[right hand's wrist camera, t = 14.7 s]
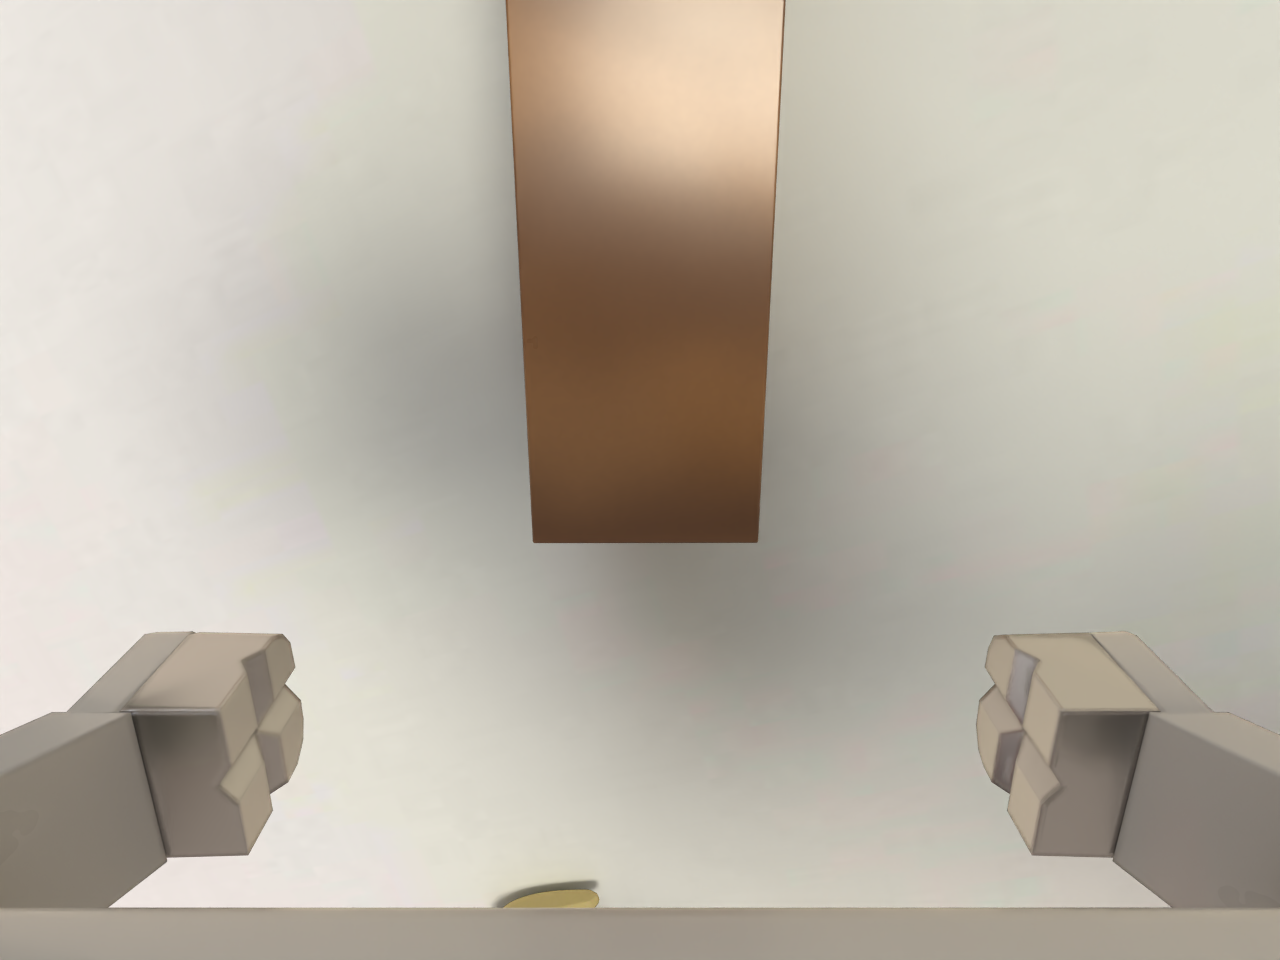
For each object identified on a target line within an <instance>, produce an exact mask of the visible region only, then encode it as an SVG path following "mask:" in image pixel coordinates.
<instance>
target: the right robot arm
mask: <svg viewBox="0 0 1280 960" xmlns="http://www.w3.org/2000/svg"><path fill="white" fill-rule="evenodd" d="M294 669H295V663H294V658H293V653H292V648H291V643H290V641H289V640H288V639H287V638H286V637H285V636H284V635H283V634H264V633H213V632H198V633H195V632H155V633H149V634H145V635H144V636H143V637H142V638H141V639H139V640H138V641H137V642H136V643H135V644H134V645H133V646H132V647H131V648H130V649H129V650H128V651H127V652H126V653H125V654H124V655H123V656H122V657H121V658H120V659H119V660H118V661H117V662H116V663H115V664H114V665H113V666H112V667H111V668H110V669H109V670H108V671H107V672H106V673H105V674H104V675H103V676H102V677H101V678H100V679H99V680H98V681H97V682H96V683H95V684H94V685H93V686H92V687H91V688H90V689H89V690H88V691H87V692H86V693H85V694H84V695H83V696H82V697H81V698H80V699H79V700H78V701H77V702H76V703H75V704H74V705H73V706H72V707H71V708H70V709H69V710H68V711H67V712H51V713H49V714H47V715H45V716H42V717H40V718H38V719H35V720H33V721H31V722H29V723H26V724H24V725H22V726H19V727H17V728H15V729H13V730H10V731H8V732H6V733H3V734H1V735H0V960H1280V735H1279V734H1276V733H1274V732H1272V731H1270V730H1267V729H1265V728H1263V727H1260V726H1258V725H1256V724H1254V723H1251V722H1249V721H1247V720H1245V719H1242V718H1240V717H1238V716H1235V715H1233V714H1231V713H1229V712H1213V711H1212V710H1211V709H1210V708H1209V707H1208V706H1207V705H1206V704H1205V703H1204V702H1203V701H1202V700H1201V699H1200V698H1199V697H1198V696H1197V695H1196V694H1195V693H1194V692H1193V691H1192V690H1191V689H1190V688H1189V687H1188V686H1187V685H1186V684H1185V683H1184V682H1183V681H1182V680H1181V679H1180V678H1179V677H1178V676H1177V675H1176V674H1175V673H1174V672H1173V671H1172V670H1171V669H1170V668H1169V667H1168V666H1167V665H1166V664H1165V663H1164V662H1163V661H1162V660H1161V659H1160V658H1159V657H1158V656H1157V655H1156V654H1155V653H1154V652H1153V651H1152V650H1151V649H1150V648H1149V647H1148V646H1147V645H1146V644H1145V643H1144V642H1143V641H1142V640H1141V639H1140V638H1139V637H1138V636H1137V635H1134V634H1131V633H1129V632H1126V631H1118V632H1093V633H1053V634H1012V635H995V636H994V637H993V639H992V641H991V643H990V645H989V647H988V651H987V657H986V663H985V669H986V670H987V672H988V673H989V675H990V676H991V678H992V680H993V681H994V683H995V684H994V686H993V687H992V688H991V689H990V690H989V691H988V692H987V693H986V694H985V695H984V696H983V697H982V698H981V699H980V700H979V706H978V714H977V722H976V729H977V741H978V750H979V753H980V756H981V760H982V763H983V766H984V768H985V770H986V772H987V774H988V776H989V778H990V780H991V782H992V783H994V784H995V785H997V786H998V787H1000V788H1002V789H1003V790H1005V791H1006V792H1008V793H1009V794H1010V797H1009V802H1008V808H1007V811H1008V813H1009V815H1010V817H1011V818H1012V820H1013V822H1014V824H1015V826H1016V827H1017V829H1018V831H1019V833H1020V835H1021V836H1022V838H1023V840H1024V842H1025V844H1026V845H1027V847H1028V849H1029V851H1030V853H1031V854H1032V855H1038V856H1074V857H1111V858H1113V862H1114V863H1116V864H1117V865H1118V866H1120V867H1121V868H1122V869H1123V870H1125V871H1126V872H1127V873H1129V874H1130V875H1131V876H1132V877H1134V878H1135V879H1136V880H1137V881H1139V882H1140V883H1141V884H1143V885H1144V886H1145V887H1146V888H1148V889H1149V890H1150V891H1152V892H1153V893H1154V894H1155V895H1157V896H1158V897H1159V898H1161V899H1162V900H1163V901H1164V902H1166V903H1167V904H1168V905H1170V906H1171V907H1172V908H108V907H109V906H111V905H112V904H113V903H115V902H116V901H117V900H118V899H120V898H121V897H122V896H124V895H125V894H126V893H127V892H129V891H130V890H131V889H133V888H134V887H135V886H136V885H138V884H139V883H140V882H142V881H143V880H144V879H145V878H147V877H148V876H149V875H151V874H152V873H153V872H154V871H156V870H157V869H158V868H160V867H161V866H162V865H163V864H165V863H166V862H167V858H169V857H204V856H240V855H249V853H250V851H251V849H252V847H253V846H254V844H255V842H256V840H257V838H258V837H259V835H260V833H261V831H262V829H263V827H264V826H265V824H266V822H267V820H268V818H269V817H270V815H271V813H272V811H273V808H272V802H271V797H270V794H271V793H272V792H274V791H275V790H277V789H278V788H280V787H282V786H283V785H285V784H286V783H288V782H289V780H290V778H291V776H292V774H293V772H294V770H295V768H296V766H297V764H298V760H299V756H300V751H301V747H302V742H303V712H302V705H301V700H300V699H299V698H298V697H297V696H296V695H295V694H294V693H293V692H292V691H291V690H290V689H289V688H288V687H287V686H286V684H285V683H286V681H287V680H288V678H289V676H290V675H291V673H292V672H293V670H294Z"/></svg>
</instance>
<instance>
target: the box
mask: <svg viewBox="0 0 1280 960" xmlns="http://www.w3.org/2000/svg"><path fill="white" fill-rule="evenodd" d="M785 2H786V0H506V17H507V37H508V57H509V77H510V97H511V117H512V137H513V157H514V177H515V197H516V216H517V236H518V256H519V276H520V296H521V316H522V336H523V356H524V376H525V396H526V415H527V435H528V455H529V475H530V495H531V515H532V535H533V542H534V543H757V542H758V534H759V515H760V495H761V475H762V455H763V436H764V416H765V396H766V377H767V357H768V337H769V317H770V298H771V278H772V258H773V239H774V219H775V199H776V179H777V160H778V140H779V120H780V101H781V81H782V61H783V41H784V22H785Z"/></svg>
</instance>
